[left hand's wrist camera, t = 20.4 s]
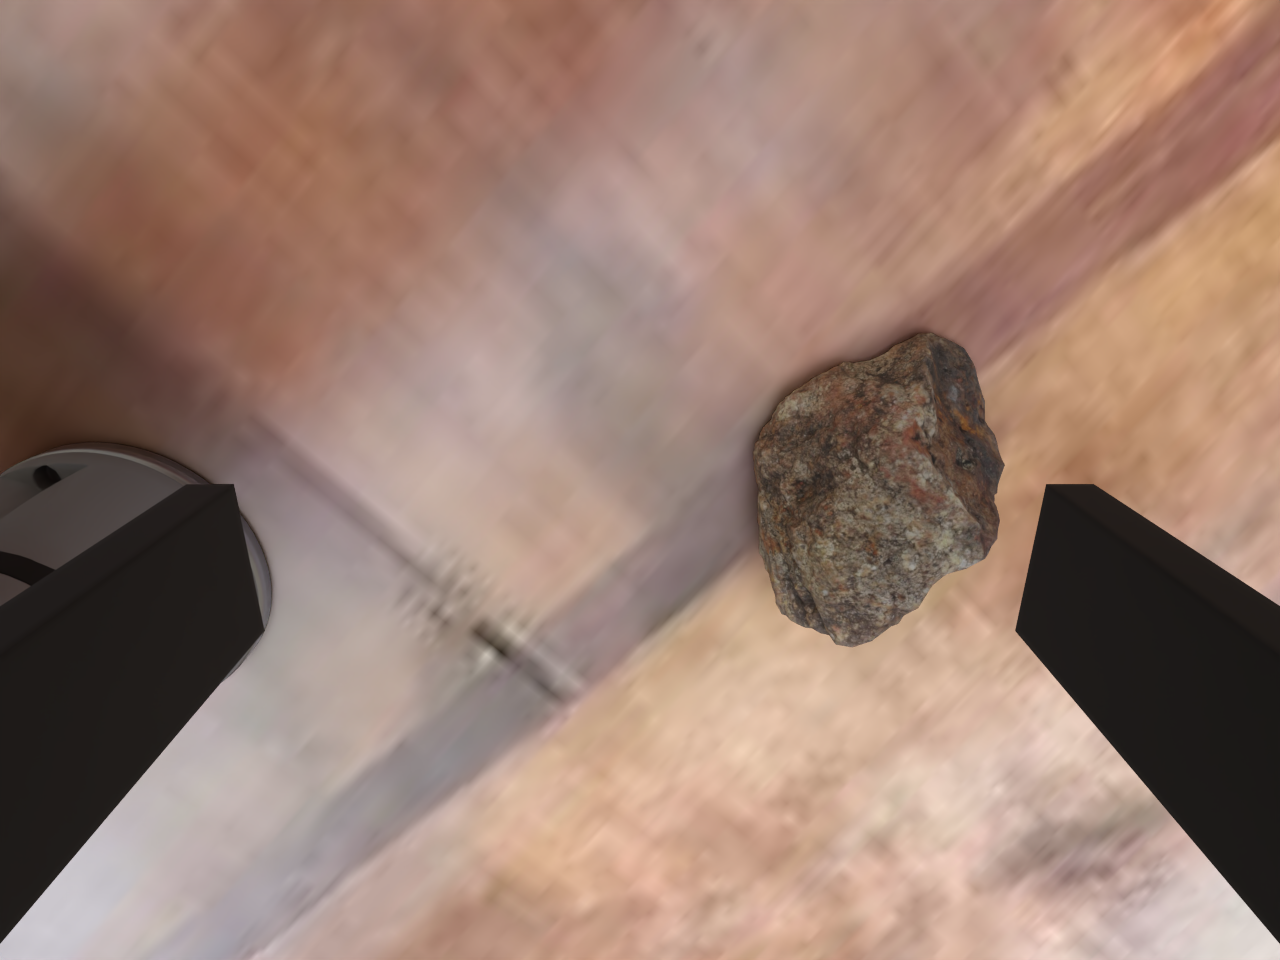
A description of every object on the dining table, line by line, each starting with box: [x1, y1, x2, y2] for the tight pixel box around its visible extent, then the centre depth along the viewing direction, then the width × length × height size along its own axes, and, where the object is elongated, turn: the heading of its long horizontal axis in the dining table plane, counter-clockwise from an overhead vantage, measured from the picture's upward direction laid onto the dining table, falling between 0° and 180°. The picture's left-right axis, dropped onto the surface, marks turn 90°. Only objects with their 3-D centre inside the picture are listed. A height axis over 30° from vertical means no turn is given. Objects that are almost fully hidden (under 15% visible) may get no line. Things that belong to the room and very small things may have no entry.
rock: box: [753, 333, 1005, 647], centre depth 35 cm, size 14×9×10 cm
